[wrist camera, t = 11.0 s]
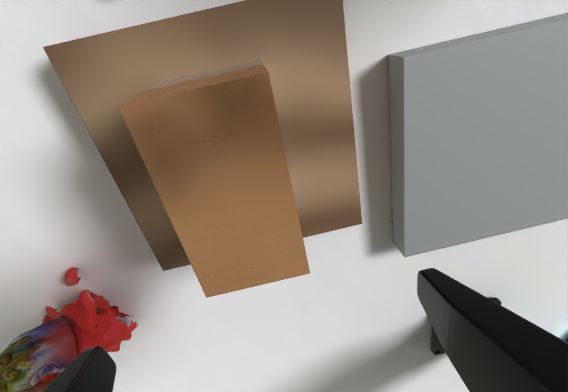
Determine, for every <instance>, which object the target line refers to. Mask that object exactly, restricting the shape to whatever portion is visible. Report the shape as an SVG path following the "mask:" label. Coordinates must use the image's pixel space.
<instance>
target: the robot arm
mask: <svg viewBox="0 0 568 392" xmlns="http://www.w3.org/2000/svg"><path fill="white" fill-rule="evenodd" d="M417 293H418V297H419V300H420V302H421V304H422V306H423V308H424V310H425V312H426V314H427V316H428V318H429V320H430V322H431V324H432V326H433V330H432V345H431V351H432V352H433V354H434V355H439V354H443V353H446V354H447V356H448V357H449V359H450V361H451V363H452V364H453V366H454V367H455V369H456V371H457V372H458V374H459V375H460V377H461V379H462V380H463V382H464V383H465V385H466V387H467V388H468V390H469V391H470V392H568V343H567V342H565V341H564V340H562V339H560V338H558V337H556V336H555V335H553V334H551V333H549V332H547V331H546V330H544V329H542V328H540V327H538V326H537V325H535V324H533V323H531V322H530V321H528V320H526V319H524V318H522V317H521V316H519V315H517V314H515V313H513V312H512V311H510V310H508V309H506V308H505V307H503V306H501V301H500V300H499V299H498V298H491V299H488V298H487V297H485V296H483V295H481V294H479V293H478V292H476V291H474V290H472V289H471V288H469V287H467V286H465V285H463V284H462V283H460V282H458V281H456V280H454V279H453V278H451V277H449V276H447V275H445V274H444V273H442V272H440V271H438V270H436V269H434V268H429V269H425V270H421V271H419V272H418V279H417ZM115 375H116V364H115V362H114V361H113V359H112V358H111V357H110V356H109V354H108V353H107V352H106V350H105V349H104V348H103V347H101V346H96V347H92V348H88V349H85V350H83V351H82V352H81V353H80V354H79V355H78V356H77V357H76V358H75V359H74V360H73V361H72V362H71V363H70V364H69V365H68V366H67V367H66V368H65V369H64V370H63V371H62V372H61V373H60V374H59V375H58V376H57V377H56V378H55V379H54V380H53V381H52V382H51V383H50V384H49V385H48V386H47V387H46V388H45V389H44V390H43V391H42V392H112V391H113V386H114V380H115Z"/></svg>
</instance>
